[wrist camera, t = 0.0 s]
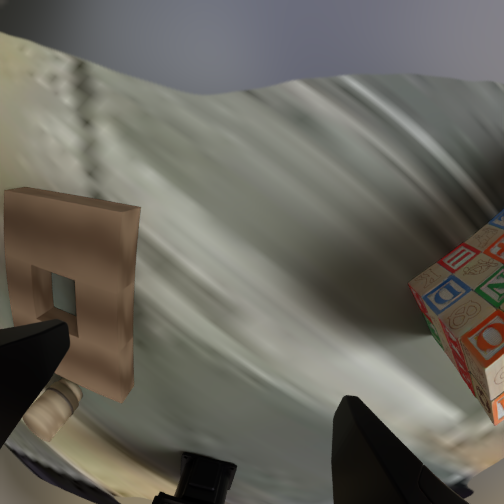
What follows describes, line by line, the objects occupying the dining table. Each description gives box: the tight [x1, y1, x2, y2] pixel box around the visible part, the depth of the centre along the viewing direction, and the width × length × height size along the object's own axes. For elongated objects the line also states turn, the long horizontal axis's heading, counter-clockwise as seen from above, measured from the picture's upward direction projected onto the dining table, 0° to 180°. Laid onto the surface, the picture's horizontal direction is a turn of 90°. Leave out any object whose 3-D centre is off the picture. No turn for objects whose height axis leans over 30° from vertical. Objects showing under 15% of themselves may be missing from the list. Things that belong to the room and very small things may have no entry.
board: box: [4, 187, 141, 403], centre depth 24 cm, size 18×14×3 cm
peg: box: [23, 377, 83, 442], centre depth 25 cm, size 4×4×8 cm
